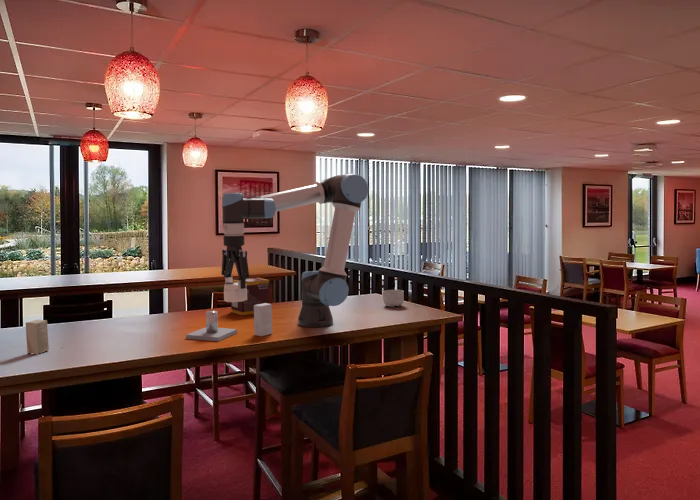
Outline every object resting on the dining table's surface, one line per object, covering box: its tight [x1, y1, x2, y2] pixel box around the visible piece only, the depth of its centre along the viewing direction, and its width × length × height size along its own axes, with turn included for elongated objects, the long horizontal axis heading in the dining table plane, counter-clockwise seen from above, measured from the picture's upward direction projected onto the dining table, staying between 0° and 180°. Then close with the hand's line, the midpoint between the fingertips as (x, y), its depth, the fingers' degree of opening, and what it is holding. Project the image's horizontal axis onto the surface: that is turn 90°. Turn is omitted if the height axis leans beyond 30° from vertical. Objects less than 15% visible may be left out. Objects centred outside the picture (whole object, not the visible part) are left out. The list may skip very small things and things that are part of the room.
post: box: [205, 310, 219, 333], centre depth 203 cm, size 4×4×8 cm
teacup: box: [382, 289, 405, 306], centre depth 266 cm, size 14×11×8 cm
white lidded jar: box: [223, 282, 247, 303], centre depth 193 cm, size 8×8×7 cm
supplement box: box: [230, 277, 270, 316], centre depth 250 cm, size 10×15×16 cm
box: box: [25, 319, 50, 354], centre depth 178 cm, size 5×4×11 cm
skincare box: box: [253, 303, 273, 337], centre depth 205 cm, size 6×4×12 cm
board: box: [185, 326, 238, 342], centre depth 203 cm, size 14×14×2 cm
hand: (235, 295), depth 194 cm, fingers closed on white lidded jar, 8 cm apart
